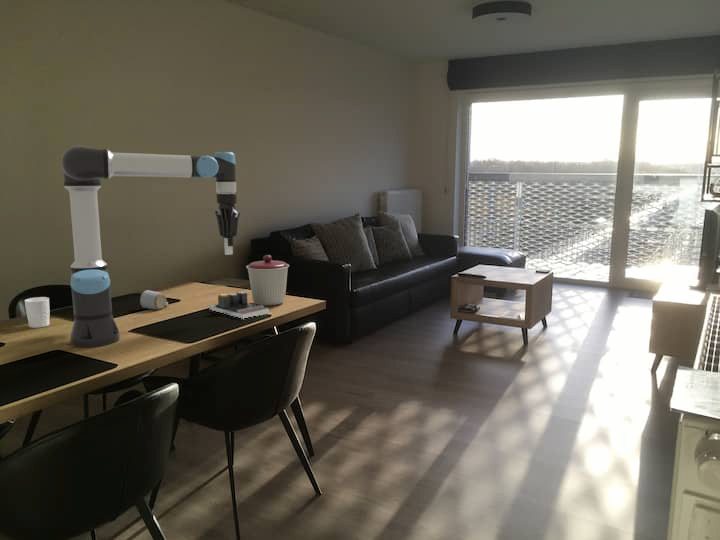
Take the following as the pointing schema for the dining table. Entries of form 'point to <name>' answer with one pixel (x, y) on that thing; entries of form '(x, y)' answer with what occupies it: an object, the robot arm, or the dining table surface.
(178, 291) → the dining table surface
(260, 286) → the canister
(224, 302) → the toggle
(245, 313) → the serrated grey base plate
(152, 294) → the ceramic mug
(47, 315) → the white cup
